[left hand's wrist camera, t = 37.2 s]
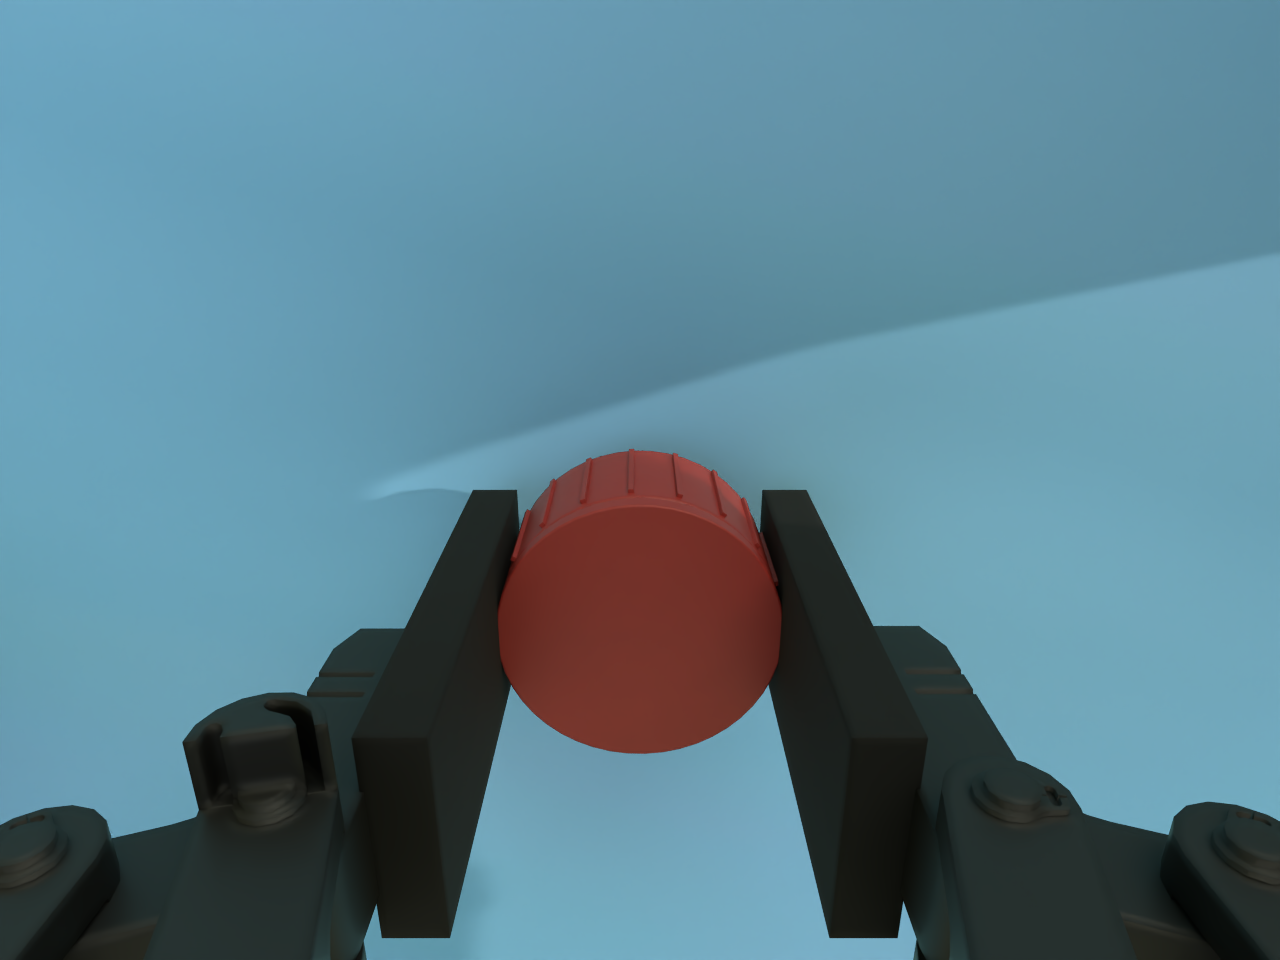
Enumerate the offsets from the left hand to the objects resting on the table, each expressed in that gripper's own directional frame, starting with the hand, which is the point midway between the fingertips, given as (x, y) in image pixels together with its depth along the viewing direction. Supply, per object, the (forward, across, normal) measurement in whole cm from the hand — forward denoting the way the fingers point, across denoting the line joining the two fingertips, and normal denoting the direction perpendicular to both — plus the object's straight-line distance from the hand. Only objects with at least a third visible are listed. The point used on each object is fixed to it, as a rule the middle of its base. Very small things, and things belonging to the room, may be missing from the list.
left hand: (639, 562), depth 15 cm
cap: (-2, 0, 0) cm, 2 cm away
